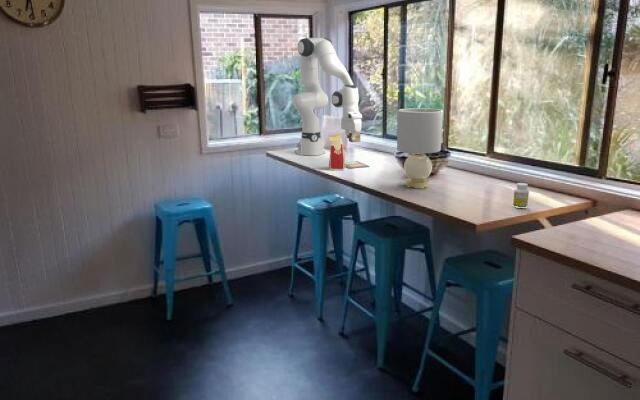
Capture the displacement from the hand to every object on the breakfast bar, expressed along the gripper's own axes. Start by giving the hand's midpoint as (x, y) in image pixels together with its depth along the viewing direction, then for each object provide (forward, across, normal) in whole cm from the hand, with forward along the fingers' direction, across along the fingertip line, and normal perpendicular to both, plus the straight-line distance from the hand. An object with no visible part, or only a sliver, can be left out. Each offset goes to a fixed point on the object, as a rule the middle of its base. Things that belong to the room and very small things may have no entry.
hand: (350, 138), depth 288 cm
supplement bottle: (+15, +109, +25) cm, 113 cm away
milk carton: (+15, +9, -12) cm, 21 cm away
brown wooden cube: (+2, 0, +2) cm, 3 cm away
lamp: (+15, +61, +7) cm, 63 cm away
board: (+15, +4, 0) cm, 15 cm away
